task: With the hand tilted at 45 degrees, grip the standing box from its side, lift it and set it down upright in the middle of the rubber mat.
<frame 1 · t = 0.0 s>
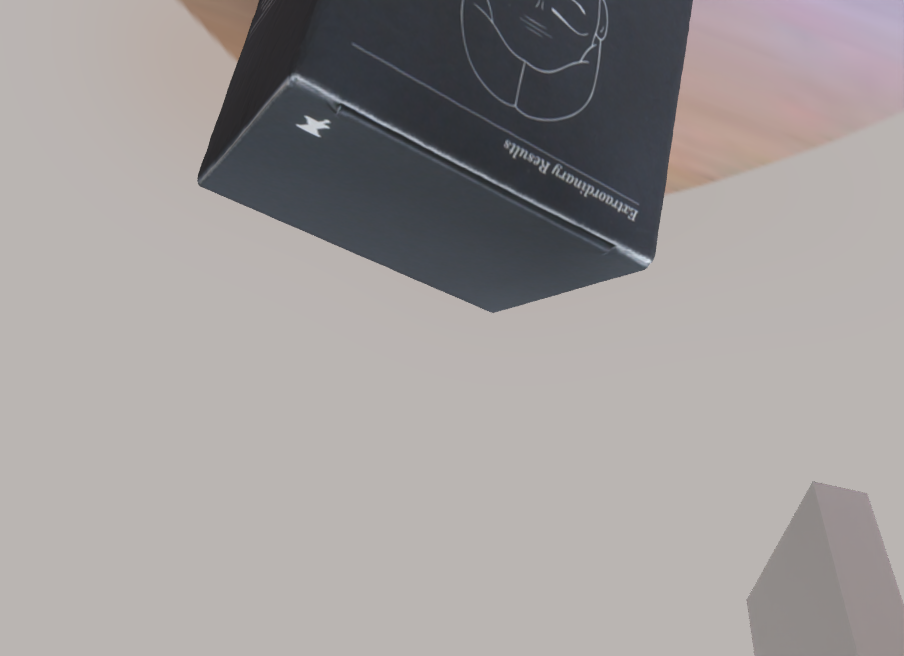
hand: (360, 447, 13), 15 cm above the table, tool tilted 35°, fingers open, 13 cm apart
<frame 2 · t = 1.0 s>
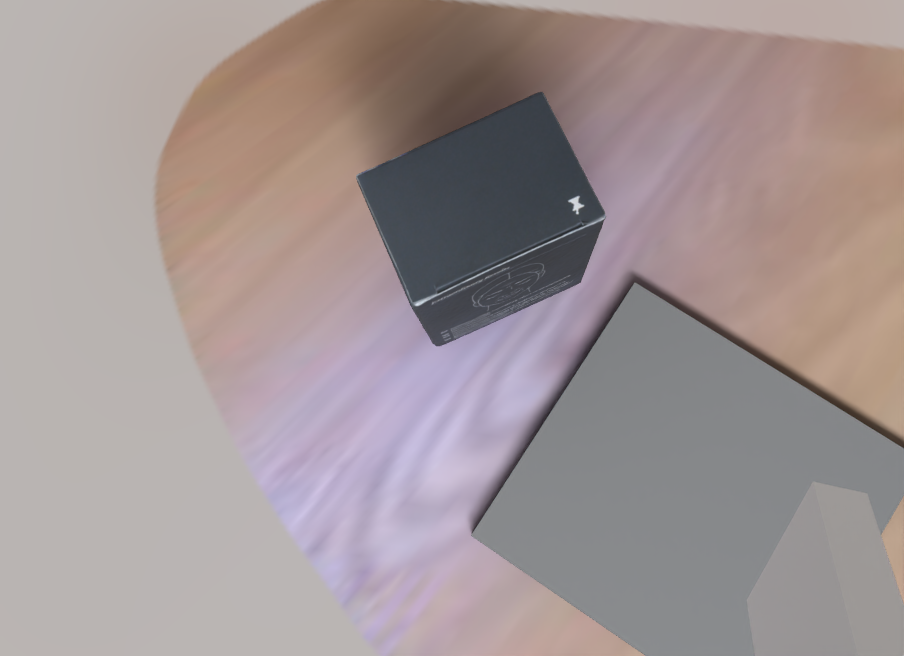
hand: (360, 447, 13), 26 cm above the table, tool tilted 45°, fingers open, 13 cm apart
mat: (691, 497, 38), on the table
box: (484, 266, 40), on the table
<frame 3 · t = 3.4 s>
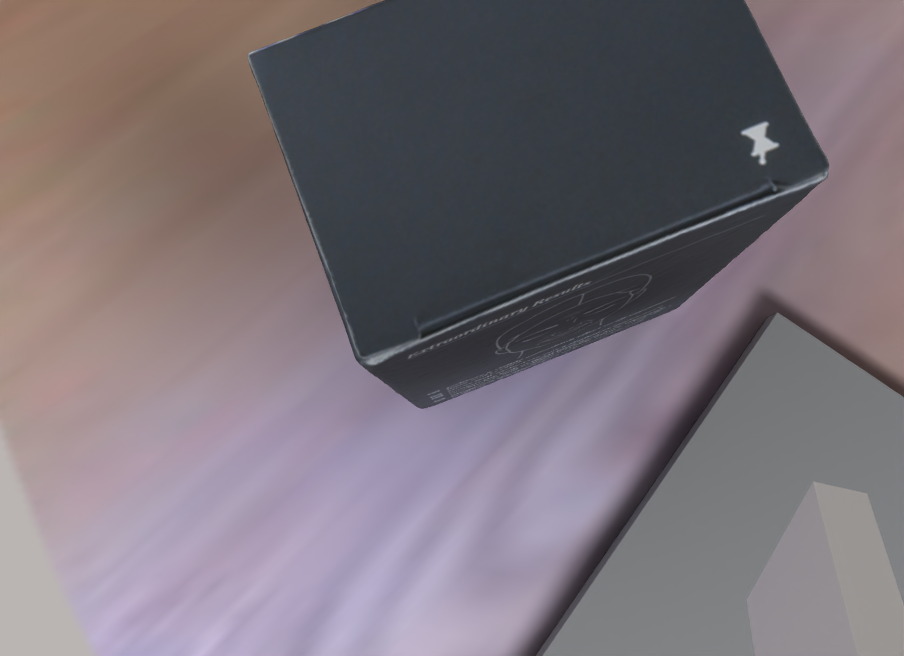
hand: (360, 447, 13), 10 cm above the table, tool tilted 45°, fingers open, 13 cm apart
box: (509, 271, 23), on the table
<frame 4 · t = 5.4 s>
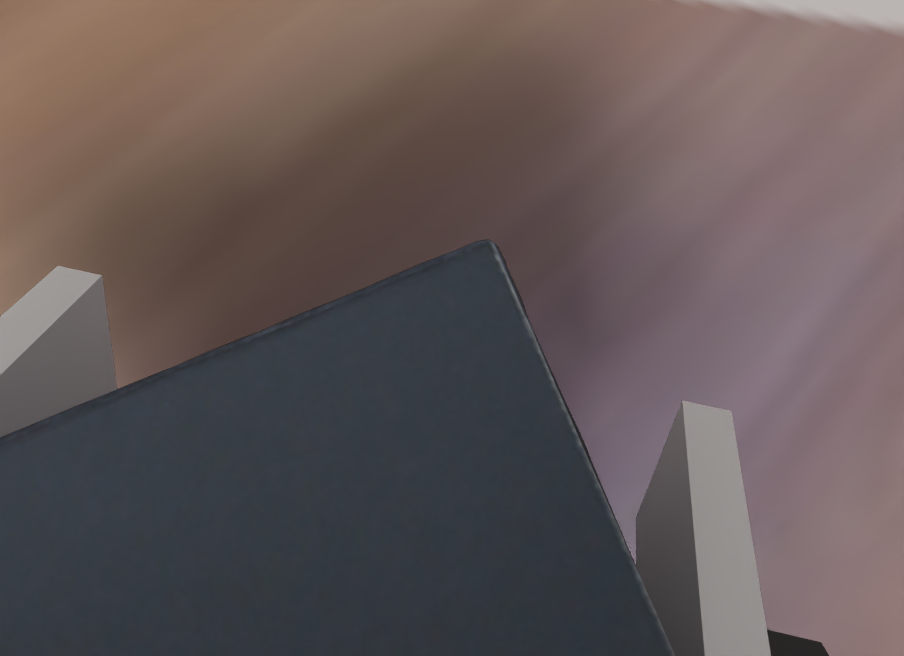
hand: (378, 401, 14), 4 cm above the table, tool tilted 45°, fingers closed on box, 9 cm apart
box: (366, 564, 17), on the table, touching gripper
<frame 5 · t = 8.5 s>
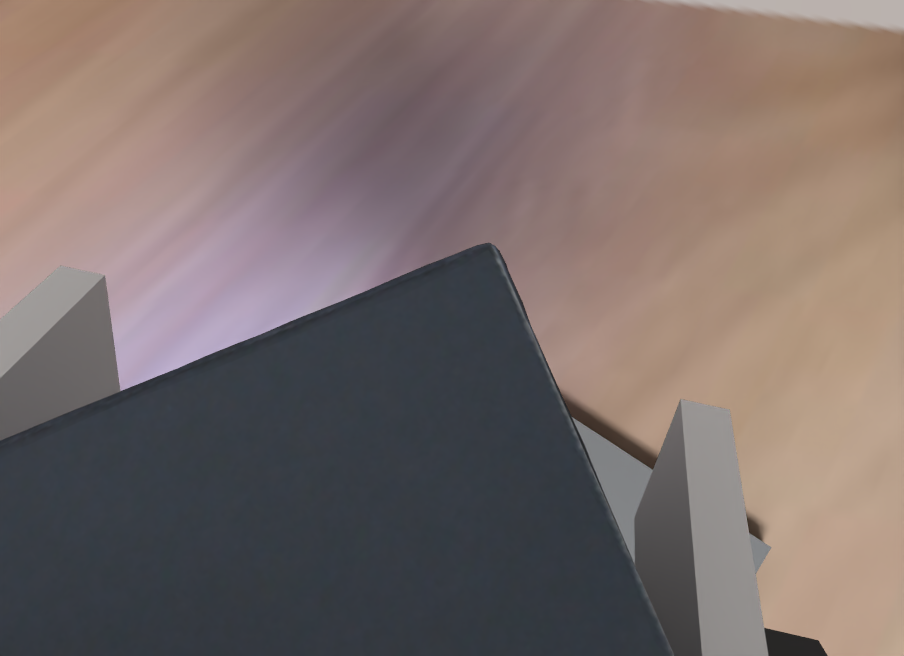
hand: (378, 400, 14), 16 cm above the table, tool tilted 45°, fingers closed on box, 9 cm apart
mat: (474, 593, 29), on the table
box: (365, 566, 17), point 12 cm above the table, touching gripper
when the fingers open (6 cm above the table, at t = 11.3 s): box drops 1 cm, resting on mat.
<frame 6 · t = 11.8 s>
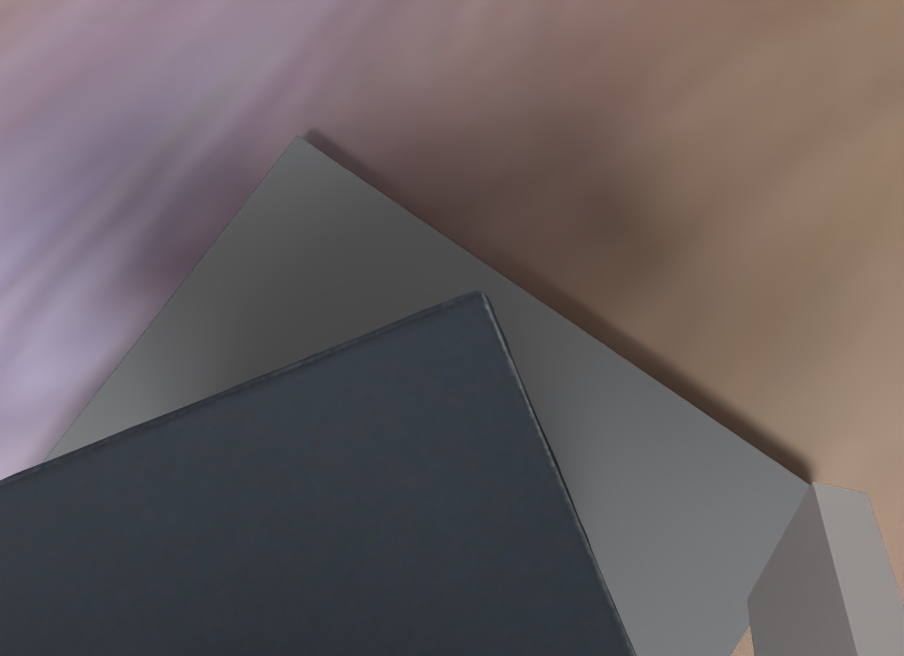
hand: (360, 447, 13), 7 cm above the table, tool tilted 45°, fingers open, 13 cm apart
mat: (377, 555, 19), on the table
box: (369, 563, 19), point 1 cm above the table, touching mat
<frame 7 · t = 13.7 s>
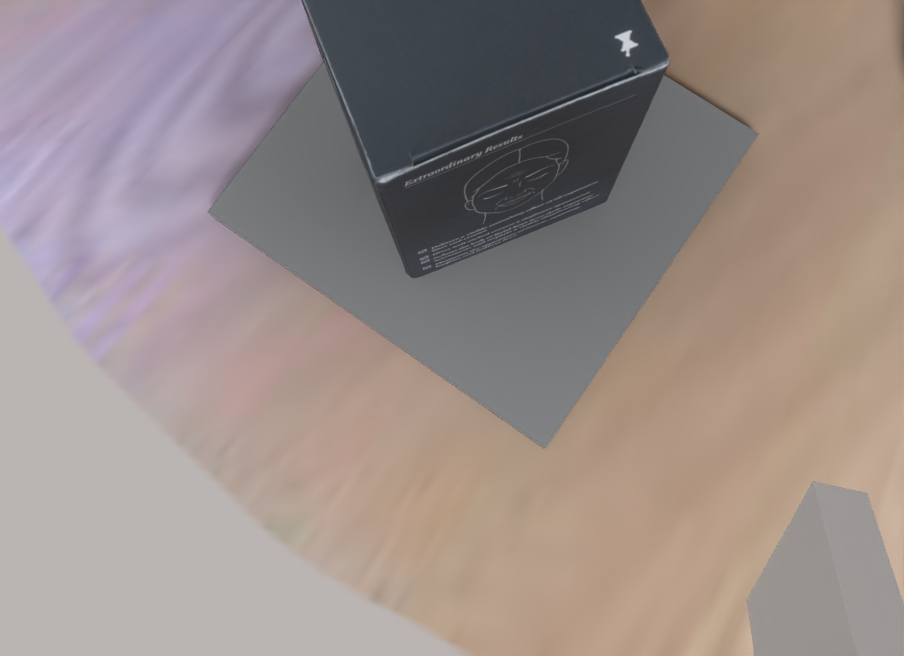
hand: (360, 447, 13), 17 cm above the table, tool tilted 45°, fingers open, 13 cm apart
mat: (482, 180, 31), on the table
box: (479, 177, 31), point 1 cm above the table, touching mat
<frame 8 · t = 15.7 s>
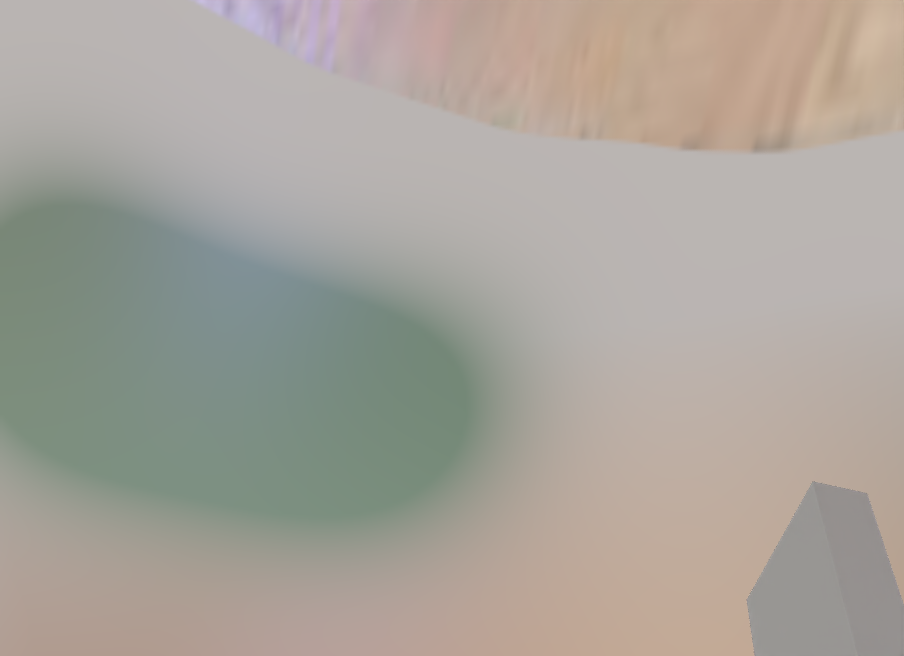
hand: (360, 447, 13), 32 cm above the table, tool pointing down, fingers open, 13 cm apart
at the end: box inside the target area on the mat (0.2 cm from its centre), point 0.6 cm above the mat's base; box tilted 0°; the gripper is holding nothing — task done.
